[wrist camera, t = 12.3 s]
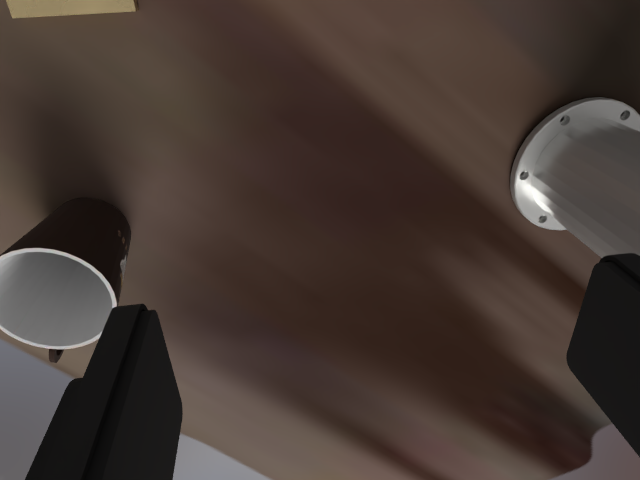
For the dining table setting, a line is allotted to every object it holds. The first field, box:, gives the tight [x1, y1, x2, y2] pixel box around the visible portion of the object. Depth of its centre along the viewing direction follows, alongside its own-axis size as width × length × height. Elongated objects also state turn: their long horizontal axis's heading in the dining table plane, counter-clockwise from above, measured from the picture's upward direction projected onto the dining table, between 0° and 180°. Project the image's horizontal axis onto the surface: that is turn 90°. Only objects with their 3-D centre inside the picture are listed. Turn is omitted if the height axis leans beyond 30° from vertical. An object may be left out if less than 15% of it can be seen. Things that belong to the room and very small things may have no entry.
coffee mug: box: [0, 198, 131, 363], centre depth 37 cm, size 12×9×10 cm
